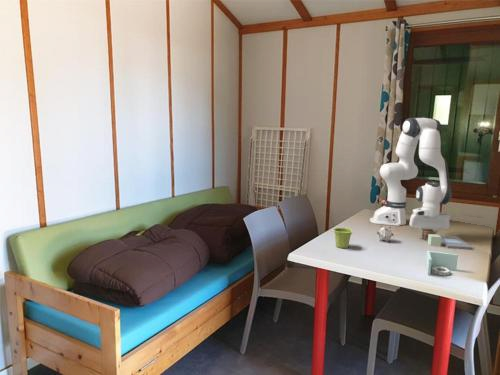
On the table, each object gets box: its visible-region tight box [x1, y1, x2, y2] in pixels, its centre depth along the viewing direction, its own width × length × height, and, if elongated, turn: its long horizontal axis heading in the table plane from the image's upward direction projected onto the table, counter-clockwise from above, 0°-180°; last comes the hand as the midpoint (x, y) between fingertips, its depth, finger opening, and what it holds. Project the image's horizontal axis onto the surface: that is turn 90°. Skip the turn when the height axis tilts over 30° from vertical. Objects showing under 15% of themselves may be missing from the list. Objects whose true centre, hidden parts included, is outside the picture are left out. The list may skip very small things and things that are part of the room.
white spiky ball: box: [376, 225, 394, 243], centre depth 206 cm, size 9×8×10 cm
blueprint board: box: [438, 234, 473, 251], centre depth 206 cm, size 12×20×1 cm, turn 172°
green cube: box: [427, 234, 442, 247], centre depth 202 cm, size 5×5×5 cm
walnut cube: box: [421, 228, 436, 241], centre depth 212 cm, size 5×5×5 cm
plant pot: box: [333, 227, 353, 249], centre depth 195 cm, size 9×9×9 cm
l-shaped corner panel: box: [425, 250, 459, 277], centre depth 162 cm, size 12×12×8 cm
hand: (428, 236), depth 212 cm, fingers closed on walnut cube, 5 cm apart
